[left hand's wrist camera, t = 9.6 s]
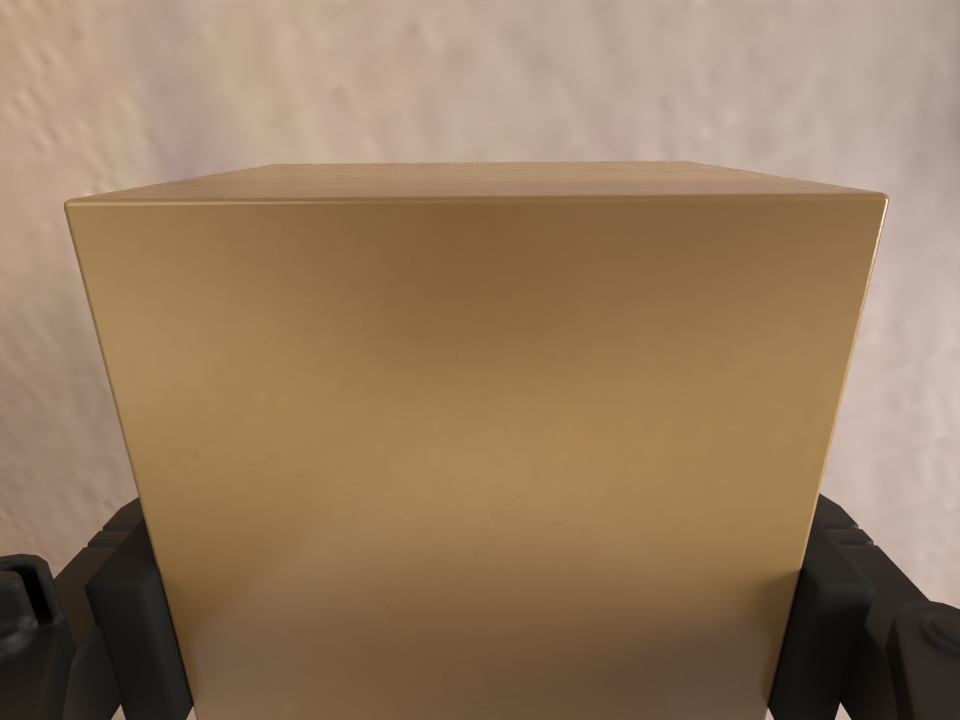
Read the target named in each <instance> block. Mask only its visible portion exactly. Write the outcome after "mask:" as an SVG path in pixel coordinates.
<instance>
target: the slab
mask: <svg viewBox="0 0 960 720" xmlns="http://www.w3.org/2000/svg"><path fill="white" fill-rule="evenodd" d="M888 203H889V197H888V196H887V195H885V194H883V193H879V192H873V191H867V190H861V189H855V188H848V187H842V186H836V185H830V184H824V183H818V182H811V181H805V180H799V179H793V178H787V177H780V176H774V175H768V174H762V173H756V172H750V171H743V170H737V169H731V168H725V167H719V166H712V165H706V164H700V163H694V162H688V161H621V162H497V163H373V164H272V165H266V166H260V167H254V168H249V169H243V170H237V171H231V172H225V173H220V174H214V175H208V176H202V177H196V178H191V179H185V180H179V181H173V182H168V183H162V184H156V185H150V186H144V187H139V188H133V189H127V190H121V191H115V192H110V193H104V194H98V195H92V196H86V197H81V198H75V199H70V200H68V201H66V202H65V203H64V210H65V214H66V218H67V221H68V225H69V229H70V233H71V237H72V241H73V244H74V248H75V252H76V256H77V260H78V264H79V268H80V271H81V275H82V279H83V283H84V287H85V291H86V295H87V298H88V302H89V306H90V310H91V314H92V318H93V321H94V325H95V329H96V333H97V337H98V341H99V345H100V348H101V352H102V356H103V360H104V364H105V368H106V372H107V375H108V379H109V383H110V387H111V391H112V395H113V399H114V402H115V406H116V410H117V414H118V418H119V422H120V425H121V429H122V433H123V437H124V441H125V445H126V449H127V452H128V456H129V460H130V464H131V468H132V472H133V476H134V479H135V483H136V487H137V491H138V495H139V499H140V502H141V506H142V510H143V514H144V518H145V522H146V526H147V529H148V533H149V537H150V541H151V545H152V549H153V553H154V556H155V560H156V564H157V568H158V572H159V576H160V579H161V583H162V587H163V591H164V595H165V599H166V603H167V606H168V610H169V614H170V618H171V622H172V626H173V630H174V633H175V637H176V641H177V645H178V649H179V653H180V657H181V660H182V664H183V668H184V672H185V676H186V680H187V683H188V687H189V691H190V695H191V699H192V703H193V707H194V710H195V714H196V718H197V720H765V718H766V713H767V709H768V705H769V701H770V697H771V692H772V688H773V684H774V680H775V676H776V672H777V667H778V663H779V659H780V655H781V651H782V646H783V642H784V638H785V634H786V630H787V626H788V621H789V617H790V613H791V609H792V605H793V601H794V596H795V592H796V588H797V584H798V580H799V575H800V571H801V567H802V563H803V559H804V555H805V550H806V546H807V542H808V538H809V534H810V529H811V525H812V521H813V517H814V513H815V509H816V504H817V500H818V496H819V492H820V488H821V483H822V479H823V475H824V471H825V467H826V463H827V458H828V454H829V450H830V446H831V442H832V438H833V433H834V429H835V425H836V421H837V417H838V412H839V408H840V404H841V400H842V396H843V392H844V387H845V383H846V379H847V375H848V371H849V366H850V362H851V358H852V354H853V350H854V346H855V341H856V337H857V333H858V329H859V325H860V320H861V316H862V312H863V308H864V304H865V300H866V295H867V291H868V287H869V283H870V279H871V275H872V270H873V266H874V262H875V258H876V254H877V249H878V245H879V241H880V237H881V233H882V229H883V224H884V220H885V216H886V212H887V208H888Z"/></svg>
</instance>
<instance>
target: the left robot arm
mask: <svg viewBox="0 0 960 720" xmlns="http://www.w3.org/2000/svg"><path fill="white" fill-rule="evenodd" d="M840 702H841V704H842V705H843V707H844V708H845V710H846V712H847V713H848V715H849V716H850V718H851V720H960V609H958V608H955V607H952V606H950V605H947V604H944V603H939V602H933V601H929V600H928V599H927V598H926V596H925V595H924V594H923V593H922V592H921V591H920V590H919V589H918V588H917V587H916V586H915V585H914V584H913V583H912V582H911V581H910V580H909V578H908V577H907V576H906V575H905V574H904V573H903V572H902V571H901V570H900V569H899V568H898V567H897V566H896V565H895V564H894V563H893V562H892V560H891V559H890V558H889V557H888V556H887V555H886V554H885V553H884V552H883V551H882V550H881V549H880V548H879V547H878V546H877V545H874V544H873V540H872V539H871V538H870V537H869V536H868V535H867V534H866V533H865V532H864V531H863V530H862V529H859V528H858V524H857V523H856V522H855V521H854V520H853V519H852V518H851V517H850V516H849V515H848V514H847V513H846V512H845V511H844V510H843V509H842V508H841V506H839V505H837V504H836V503H834V502H833V501H831V500H829V499H828V498H826V497H825V496H823V495H821V494H820V493H819V496H818V500H817V504H816V509H815V513H814V517H813V521H812V525H811V529H810V534H809V538H808V542H807V546H806V550H805V555H804V559H803V563H802V567H801V571H800V575H799V580H798V584H797V588H796V592H795V596H794V601H793V605H792V609H791V613H790V617H789V621H788V626H787V630H786V634H785V638H784V642H783V646H782V651H781V655H780V659H779V663H778V667H777V672H776V676H775V680H774V684H773V688H772V692H771V697H770V701H769V705H768V708H769V710H770V712H771V714H772V716H773V718H774V720H835V717H836V714H837V711H838V708H839V705H840ZM120 704H121V706H122V709H123V712H124V715H125V719H126V720H186V719H187V717H188V715H189V713H190V711H191V709H192V707H193V703H192V699H191V695H190V691H189V687H188V683H187V680H186V676H185V672H184V668H183V664H182V660H181V657H180V653H179V649H178V645H177V641H176V637H175V633H174V630H173V626H172V622H171V618H170V614H169V610H168V606H167V603H166V599H165V595H164V591H163V587H162V583H161V579H160V576H159V572H158V568H157V564H156V560H155V556H154V553H153V549H152V545H151V541H150V537H149V533H148V529H147V526H146V522H145V518H144V514H143V510H142V506H141V502H140V499H139V497H138V498H136V499H135V500H133V501H131V502H130V503H128V504H127V505H125V506H123V507H122V508H120V509H119V511H118V512H117V513H116V514H115V515H114V516H113V517H112V518H111V519H110V520H109V521H108V522H107V523H106V524H105V525H104V527H103V530H102V531H99V532H98V533H97V534H96V535H95V536H94V537H93V538H92V539H91V540H90V541H89V543H88V546H87V547H84V548H83V549H82V550H81V551H80V552H79V553H78V554H77V555H76V556H75V557H74V559H73V560H72V561H71V562H70V563H69V564H68V565H67V566H66V567H65V568H64V569H63V570H62V571H61V572H60V573H59V575H58V576H57V577H56V578H55V579H54V580H53V577H52V574H51V571H50V568H49V565H48V562H47V561H45V560H44V559H42V558H41V557H39V556H37V555H27V554H16V555H10V556H3V557H0V720H111V719H112V717H113V716H114V714H115V712H116V711H117V709H118V708H119V706H120Z"/></svg>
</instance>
